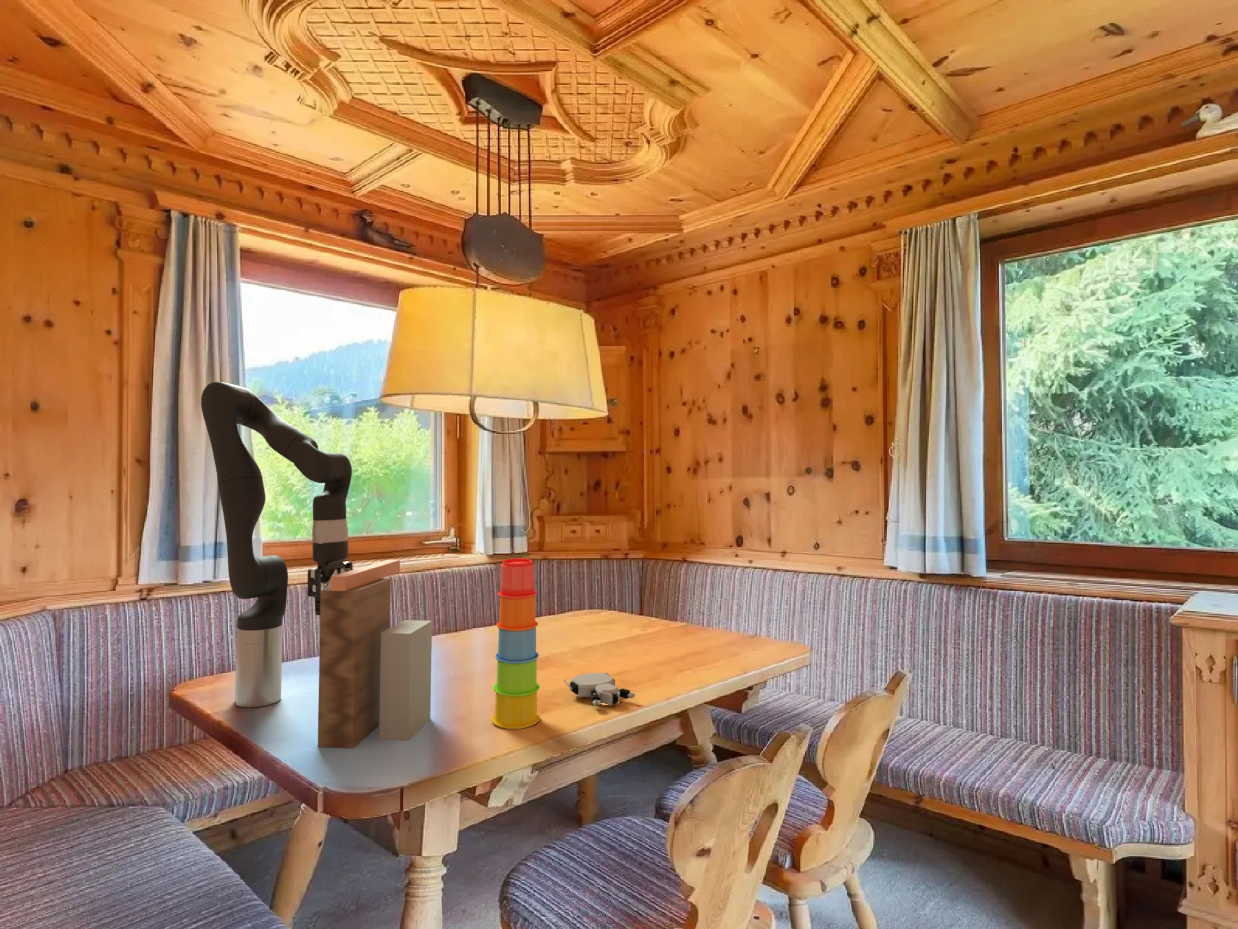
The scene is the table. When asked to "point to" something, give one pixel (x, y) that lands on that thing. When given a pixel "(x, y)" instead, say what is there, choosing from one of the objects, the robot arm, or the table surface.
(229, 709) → the table surface
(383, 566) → the terracotta bar
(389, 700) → the taupe pedestal
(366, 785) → the table surface
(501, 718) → the stacking cups
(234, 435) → the robot arm
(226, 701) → the table surface
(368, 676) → the walnut post
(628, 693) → the robot toy
